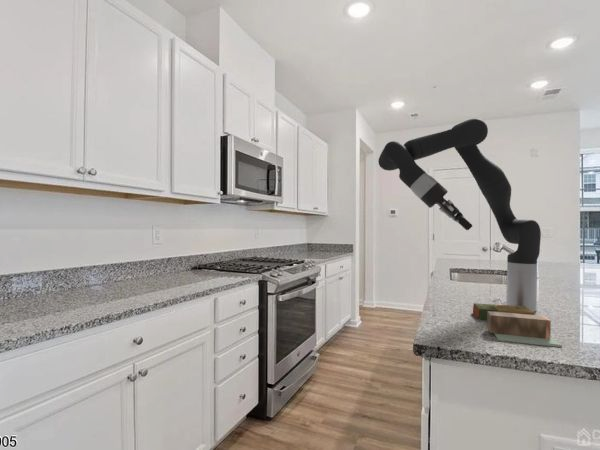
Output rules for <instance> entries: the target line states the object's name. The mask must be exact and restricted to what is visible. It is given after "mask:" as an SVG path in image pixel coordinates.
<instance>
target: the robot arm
mask: <svg viewBox="0 0 600 450" xmlns="http://www.w3.org/2000/svg"><path fill="white" fill-rule="evenodd" d="M488 130H489V129H488V125H487V124H486V122H485V121H484V120H483V119H480V118H470V119H467V120H464V121H462V122H459V123H457V124H455V125H453V127H452V128H449V129H447V130H443V131H439V132H436V133H431V134H427V135H424V136H421V137H416V138H412V139H410V140H407V141H405V143H404V144H403V143H400V142H399V141H393V140H392V141H389V142H388V143H386V144H385V145H384V148H383V149H382V151H381V153H380V155H379V158H378V160H377V161H378V165H379V167H380V168H381V169H382V170H384V171H395V170H399V174H398V177H399V179H400V181H402V183H403V184H405V186H407V187H408V188H409V190H411V191H412V192H413V194H414V195H415V196H416V197H417V198H419V200H421V202H423V203H424V204H425V205H426V206H427V207H428V208H429V209H430V208H433V207H434V206H435V205H437V206H439V208H438V209H439V211H440V212H441V213H444V214H445V215H446V216H447V217H448V218H450V219H451V220H452V221H454V222H456V223H458V225H460V226H461V227H462V228H463V229H465V231H469V230H470V229H472V227H473V224H472V223H471V222H470V221H469V220H468V219H467V218H465V216H464V215H463V213H462V212H461V211H460V210H459V208H458V207H457V206H455V204H454V202H452V201H451V200H450V199H448V200H447V199H446V198H444V197H445V196H446V194H447V193H448V192H449V191H448V190H447V189H446V188H445V187H444V186H443V185H442V184H441V183H440V182H438V180H436V179H435V178H434V177H433V176H431V175H430V174H429V173H427V172H426V171H425V170H424V169H423V168H421V167H420V166H419V165H418V164H417V163H416V160H417V161H418V160H420V159H423V158H427V157H430V156H433V155H435V154H438V153H442V152H443V151H446V150H449V149H453V148H454V149H455V150H456V152H457V153H458V154H459V156H460V157H461V159H462V161H464V163H465V165H466V166H467V168H468V170H469V171H470V173H471V175H472V177H473V178H474V180H475V182H476V184H477V186H478V188H479V189H480V192H481V194H482V195H483V196H484V198H485V200H486V202H487V204H488V206H489V208H490V209H491V212H492V213H493V216H494V218H495V220H496V222H497V226H498V228H499V231H500V232H501V235H502V237H503V238H504V239H505V240H506V242H507V243H510V244H514V245H518V246H517V249H516V250H515V251H514V252H511V253H509V254H508V255H507V257H506V258H507V259H506V260H507V261H506V264H507V265H506V267H507V268H506V270H507V273H506V274H507V275H506V278H507V279H506V303H505V305H510V306H525V307H527V308H528V309H530V310H532V311H533V312H534V313H535V312H537V311H538V310H537V308H538V306H537V305H538V303H537V302H538V301H537V300H538V299H537V298H538V294H537V293H538V259H539V257H540V250H541V240H542V239H541V235H542V233H541V232H542V231H541V227H540V225H539V223H538V222H537V221H536V220H533V219H517V218H516V216H515V214H514V213H513V210H512V207H511V199H512V186H511V183H510V181H509V180H508V177H507V176H506V174H505V172H504V171H503V169H501V167H500V166H498V165H497V164H495V163H494V162H493V161H492V160H490V159H489V158H488V157H486V156H485V155H484V154H483V153H482V152H481V150H480V148H479V147H478V145H479V144H481V143H482V142H484V141H485V139H486V138H487V137H488V134H489V133H488V132H489V131H488Z"/></svg>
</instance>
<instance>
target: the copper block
mask: <svg viewBox="0 0 600 450" xmlns="http://www.w3.org/2000/svg"><path fill="white" fill-rule="evenodd" d="M551 321H552V320H551V319H549V318H548V317H547V316H545V315H539V314H534V315H528V314H517V313H505V312H493V311H487V320H486V324H487V325H486V328H487V330H488V331H489V333H490V334H493V335H495V334H504V335H513V336H523V337H533V338H542V339H550V336H551V335H552V334H551V325H552V324H551Z"/></svg>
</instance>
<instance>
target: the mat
mask: <svg viewBox="0 0 600 450" xmlns="http://www.w3.org/2000/svg"><path fill="white" fill-rule="evenodd" d="M494 336H495V338H496V339H497V340H498V341H501V342H502V341H503V342H510V343H519V344H521V343H522V344H529V345H530V344H531V345H537V346H538V345H539V346H546V347H555V348H556V347H557V348H562V347H563V345H562V344H561V343H560V342H559V341H557V340H556V339H555V338H554V337H553V336H552V335H550V339H542V338H533V337H523V336H513V335H504V334H494Z"/></svg>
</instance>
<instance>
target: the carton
mask: <svg viewBox="0 0 600 450" xmlns="http://www.w3.org/2000/svg"><path fill="white" fill-rule="evenodd" d="M487 311H493V312H505V313H517V314H528V315H535V311H534V312H533V311H532V310H530V309H528V308H527V307H525V306H510V305H506V304H491V303H475V302H474V303H473V305H472V314H473V316H475V318H476V319H478V320H479V319H480V321H487Z"/></svg>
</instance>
